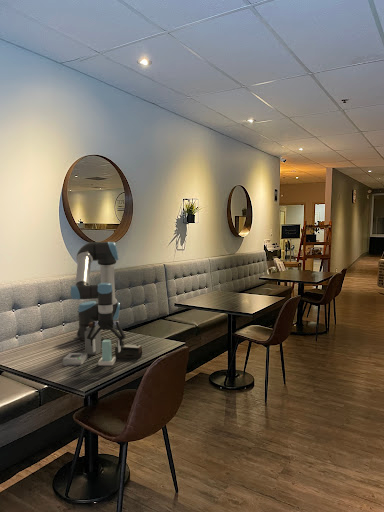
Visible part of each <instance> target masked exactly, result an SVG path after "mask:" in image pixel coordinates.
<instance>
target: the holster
mask: <svg viewBox="0 0 384 512" xmlns="http://www.w3.org/2000/svg"><path fill="white" fill-rule="evenodd" d="M116 360H117V358H116V357H115V356H112V360H111V361H102V356H101V357H100V358H99V360H98V362H97V363H98V364H97V365H98V366H113V365H114V364H115V362H116Z"/></svg>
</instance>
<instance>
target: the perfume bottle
mask: <svg viewBox="0 0 384 512" xmlns="http://www.w3.org/2000/svg"><path fill="white" fill-rule="evenodd" d="M88 324H89V326H88V327H87V328H86V329H87V331H85V340H84V353H87V355H98V354H100V353H102V335H101V333H102V332H101V330H102V329H101V330H100V331H99V333H98V334H97V335H96V336H95V338H94V339H95V343H96V351H95V352H93V346H91V340H90V339H87V336H88V334H89V332H90V330H91V328H92V324H93V322H90V323H88ZM99 327H100V326H99V325H97V326H95V328H94V331H93V333H92V335H91V337H92V336H93V335H94V334H95V332H96V331H97V330H98V329H99Z"/></svg>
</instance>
